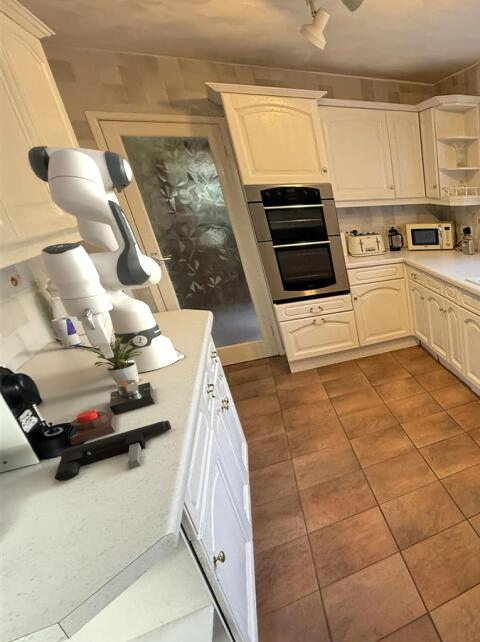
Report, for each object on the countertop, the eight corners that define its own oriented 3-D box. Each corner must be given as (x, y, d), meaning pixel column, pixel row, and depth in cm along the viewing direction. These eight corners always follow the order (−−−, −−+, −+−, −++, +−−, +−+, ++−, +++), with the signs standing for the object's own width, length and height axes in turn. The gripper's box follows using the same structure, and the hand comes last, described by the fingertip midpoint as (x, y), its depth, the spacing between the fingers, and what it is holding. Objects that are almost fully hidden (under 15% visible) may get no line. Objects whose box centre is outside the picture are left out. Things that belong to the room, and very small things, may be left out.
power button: (80, 419, 103) (77, 413, 103) (99, 414, 106) (96, 408, 105) (78, 424, 101) (75, 419, 100) (98, 419, 103) (95, 413, 102)
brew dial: (120, 393, 117) (115, 382, 116) (140, 388, 120) (135, 377, 119) (120, 398, 114) (114, 387, 113) (140, 393, 117) (135, 382, 116)
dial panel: (115, 400, 120) (110, 391, 119) (153, 390, 125) (149, 381, 124) (114, 415, 112) (109, 406, 110) (154, 404, 117) (150, 394, 116)
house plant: (119, 397, 122) (95, 348, 115) (85, 394, 125) (59, 346, 118) (164, 376, 135) (145, 331, 128) (133, 374, 137) (112, 330, 131)
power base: (76, 429, 106) (68, 416, 104) (116, 417, 110) (109, 405, 109) (72, 445, 99) (64, 432, 97) (115, 432, 104) (108, 419, 102)
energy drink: (86, 343, 168) (73, 317, 163) (72, 348, 163) (58, 321, 158) (75, 343, 168) (61, 317, 164) (61, 348, 163) (46, 321, 159)
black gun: (168, 446, 93) (167, 415, 104) (45, 486, 81) (59, 446, 93) (173, 457, 94) (172, 425, 105) (54, 497, 83) (66, 457, 94)
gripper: (102, 310, 101) (125, 359, 106) (106, 297, 115) (126, 341, 121) (67, 316, 97) (92, 366, 103) (76, 302, 112) (97, 347, 117)
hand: (110, 352), depth 112 cm, fingers open, 8 cm apart
